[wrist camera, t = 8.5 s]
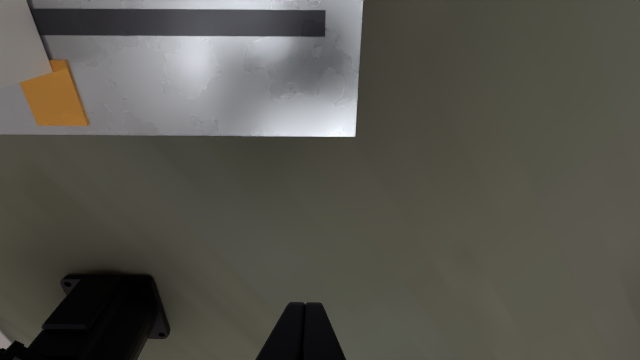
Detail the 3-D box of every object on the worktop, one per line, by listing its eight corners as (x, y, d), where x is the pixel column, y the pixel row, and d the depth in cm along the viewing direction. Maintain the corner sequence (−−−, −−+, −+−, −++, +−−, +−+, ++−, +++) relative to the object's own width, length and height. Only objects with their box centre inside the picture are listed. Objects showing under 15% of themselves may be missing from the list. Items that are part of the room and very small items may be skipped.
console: (351, 119, 19) (355, 137, 16) (25, 117, 19) (-16, 134, 16) (363, -118, 14) (371, -139, 11) (-79, -119, 14) (-159, -141, 11)
